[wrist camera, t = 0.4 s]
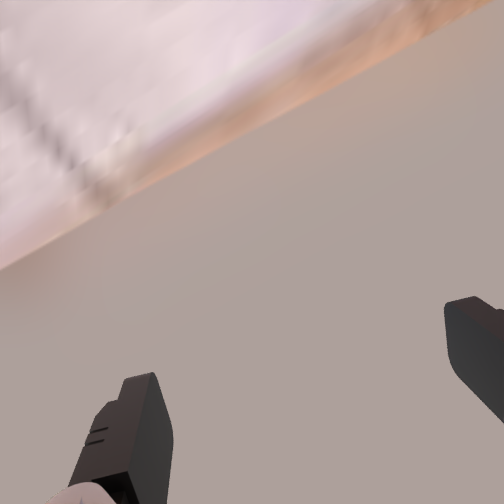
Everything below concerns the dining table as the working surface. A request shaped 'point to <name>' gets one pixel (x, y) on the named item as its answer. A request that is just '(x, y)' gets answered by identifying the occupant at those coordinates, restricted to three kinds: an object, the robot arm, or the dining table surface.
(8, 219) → the dining table surface
